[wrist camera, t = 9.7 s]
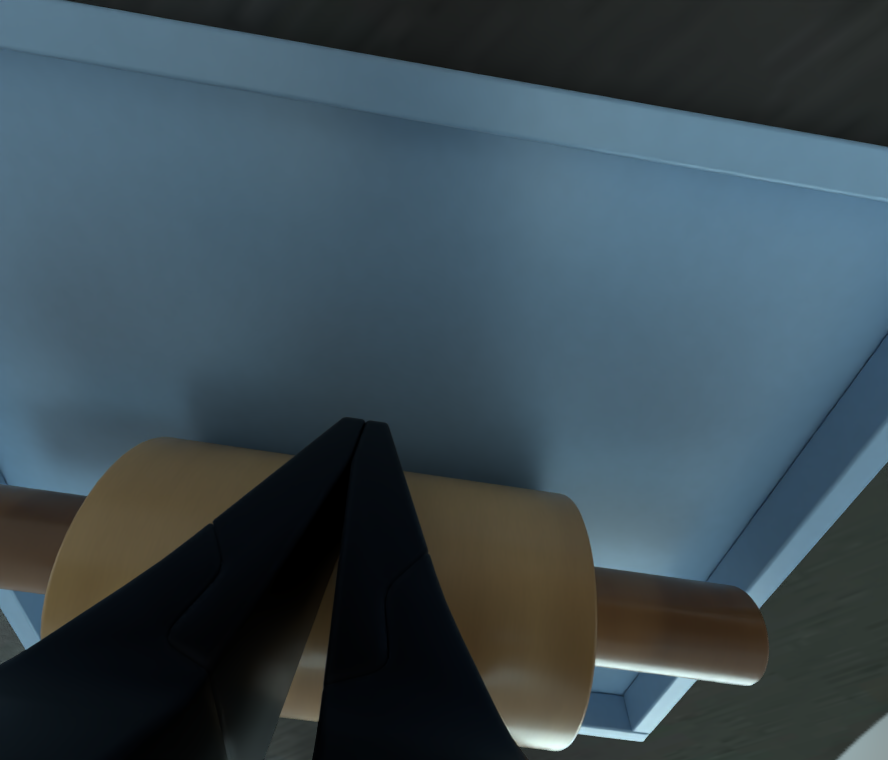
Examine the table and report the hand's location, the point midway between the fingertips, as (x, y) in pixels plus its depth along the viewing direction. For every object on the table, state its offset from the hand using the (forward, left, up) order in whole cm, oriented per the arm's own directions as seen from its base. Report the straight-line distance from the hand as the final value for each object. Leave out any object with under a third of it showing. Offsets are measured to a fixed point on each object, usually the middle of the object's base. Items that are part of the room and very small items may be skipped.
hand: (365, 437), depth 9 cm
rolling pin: (-3, 0, -2) cm, 4 cm away
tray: (-3, 0, -2) cm, 4 cm away
